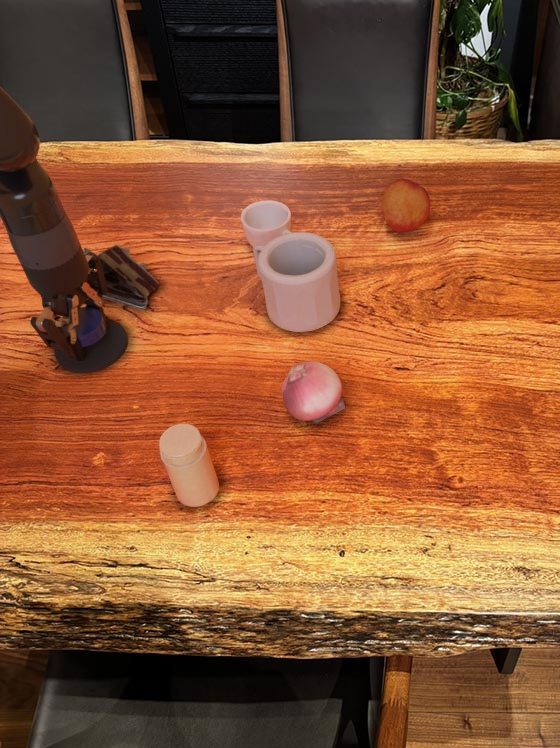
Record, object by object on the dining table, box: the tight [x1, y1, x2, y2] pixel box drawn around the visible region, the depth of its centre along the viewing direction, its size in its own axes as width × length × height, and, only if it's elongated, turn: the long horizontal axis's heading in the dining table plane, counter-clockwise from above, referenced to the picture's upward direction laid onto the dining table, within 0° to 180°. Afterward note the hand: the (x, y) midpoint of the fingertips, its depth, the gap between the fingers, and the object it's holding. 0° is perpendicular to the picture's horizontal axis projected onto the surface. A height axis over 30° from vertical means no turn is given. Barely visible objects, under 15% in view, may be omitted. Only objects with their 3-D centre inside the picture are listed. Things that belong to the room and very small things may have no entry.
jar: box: [158, 423, 220, 508], centre depth 93 cm, size 5×5×10 cm
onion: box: [281, 360, 346, 424], centre depth 102 cm, size 8×8×7 cm
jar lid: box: [61, 306, 107, 347], centre depth 110 cm, size 6×6×2 cm
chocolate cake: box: [83, 244, 160, 310], centre depth 121 cm, size 10×7×12 cm
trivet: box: [53, 318, 129, 375], centre depth 113 cm, size 10×10×1 cm
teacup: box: [240, 199, 293, 248], centre depth 125 cm, size 10×8×5 cm
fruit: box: [381, 177, 431, 234], centre depth 126 cm, size 8×8×8 cm
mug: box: [252, 231, 341, 333], centre depth 114 cm, size 14×11×10 cm
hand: (89, 341), depth 112 cm, fingers closed on jar lid, 5 cm apart
